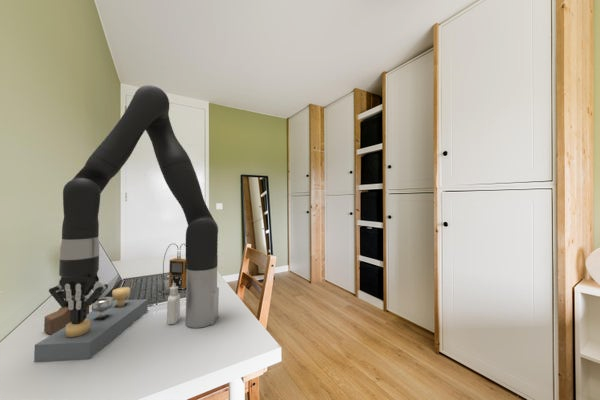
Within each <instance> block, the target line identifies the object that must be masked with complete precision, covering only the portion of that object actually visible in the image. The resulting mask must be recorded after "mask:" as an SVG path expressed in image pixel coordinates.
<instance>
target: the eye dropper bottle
mask: <svg viewBox="0 0 600 400" xmlns="http://www.w3.org/2000/svg"><path fill="white" fill-rule="evenodd" d="M178 291H179V290H178V286H176V283H173V285H172V287H170V289H169V292H170V293H169V294H168V297H167V304H166V309H167V310H166V324H167V325H175V324H177V323H178V322H179V321H180V318H181V317H180V316H181V295H180V293H179V292H178Z"/></svg>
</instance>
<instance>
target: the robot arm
mask: <svg viewBox="0 0 600 400" xmlns="http://www.w3.org/2000/svg"><path fill="white" fill-rule="evenodd" d="M169 112H170V100H169V97H168V95H167V93H166V92H165V91H164V90H163V89H162V88H160V87H159V86H156V85H152V84H151V85H150V84H146V85H143V86H140V87H138V89H137V90H136V91H135V93H134V95H133V97H132V98H131V100H130V102H129V104H128V106H127V108H126V110H125V111H124V113H123V115H122V116H121V118H120V119H119V120H118V122H117V123H116V124H115V126H114V127H113V128H112V130H111V131H110V132H109V133H108V135H107V136H106V137H105V138H104V140H103V141H102V142H101V143H100V144H98V146H97V147H96V149H95V150H94V151H93V152H92V154H91V155H90V156H89V158H88V159H87V160H86V162H85V164H84V166H83V167H82V168H81V169H80V170H79V171H78V173H77V174H76V175H74V177H73V178H72V179H71V180H69V181H68V182H66V184H65V185H64V187H63V191H62V205H63V206H62V207H63V221H62V226H61V242H60V247H59V264H58V265H59V269H58V270H59V271H58V275H59V277H60V279H59V281H58V284H57V285H55V286H53V287H50V288H49V289H48V292H49V294H50V295H51V296H52V297H53V299H54V300H55V301H56V302H57V303H58V305H59V306H60V308H61V307H62V308H65V307H67V308H69V310H70V321H71V322H72V324H80V323H81V322H83V321H84V320H85V319H86V315H87V307H88V306H89V307H90V306H92V304H93V303H95V302H96V301H97V299H98V298H101V296H102V295H103V294H104V292H105V291H106V290H107V289H108V287H109V284H106V283H105V284H103V283H101V282H100V281H99V280H100V278H99V276H98V271H99V269H100V268H99V267H100V240H99V236H100V235H99V233H100V232H99V231H100V230H99V229H100V223H99V221H100V220H99V211H100V205H101V194H102V192H103V191H104V189H105V188H106V187H107V185H108V183H109V182H110V181H111V180H112V179H113V177H115V176H116V175H117V174H119V172H120V171H121V169H122V168H123V166H124V165H125V164H126V162H128V160H129V158H130V157H131V156H132V153H133V152H134V149H135V148H136V147H137V144H138V142H139V141H140V139H141V138H142V136H143V134H144V133H145V131H146V134H147V135H148V137H149V139H150V142H151V145H152V147H153V152H154V155H155V158H156V162H157V164H158V166H159V169H160V172H161V174H162V177H163V179H164V181H165V184H166V185H167V187H168V188H169V190H170V193H171V194H172V195H173V196H174V198H175V199H176V201H177V202H178V204H179V206H180V207H181V209H182V211H183V214H184V217H185V220H186V222H187V227H186V231H185V245H186V246H185V259H186V263H187V274H186V289H185V325H186V326H187V327H189V328H191V329H192V328H193V329H194V328H195V329H200V328H203V327H204V328H205V327H207V326H212V325H214V326H215V323H216V321H217V319H218V317H219V306H220V305H219V299H220V297H219V295H220V288H219V287H218V261H219V260H218V259H219V258H218V240H219V236H218V234H219V226H218V223H217V222H216V221H215V219H214V217H213V215H212V214H211V212H210V210H209V208H208V206H207V204H206V202H205V199H204V196H203V191H202V187H201V185H200V182H199V179H198V175H197V173H196V170H195V168H194V166H193V163H192V161H191V159H190V156H189V155H188V152H187V151H186V150H185V148H184V147H183V146H182V144H181V143H180V142H179V140H178V139H177V137H176V134H175V133H174V129H173V126H172V124H171V119H170V117H169ZM65 300H66V301H65Z"/></svg>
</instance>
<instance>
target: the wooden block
mask: <svg viewBox="0 0 600 400" xmlns="http://www.w3.org/2000/svg"><path fill="white" fill-rule="evenodd" d="M64 300H65V299H64ZM65 301H66V300H65ZM89 313H90V305H89V306H88V307H87V314H89ZM70 322H71V321H70V310H69V308H67V307H65V308H62V307H61V306H60V308H58V310H56V311H53V312H52V313H50V314H47V315H45V316H44V325H43V326H44V328H43V331H44V332H45V333H46V334H48V335H49V336H51V335H52V334H54V333H56V332H58V331H59V330H61V329H63V328H64V327H66V325H67V324H68V323H70Z"/></svg>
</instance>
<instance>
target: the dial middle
mask: <svg viewBox="0 0 600 400" xmlns="http://www.w3.org/2000/svg"><path fill="white" fill-rule="evenodd" d="M113 300H114V299H113V298H112V296H103V297H99V298H98V299H97V301H96V302H95V303H93V304H91V312H92V311H94V312H98V320H105V319H106V318H107V309H109V308H111V307H112V302H113Z"/></svg>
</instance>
